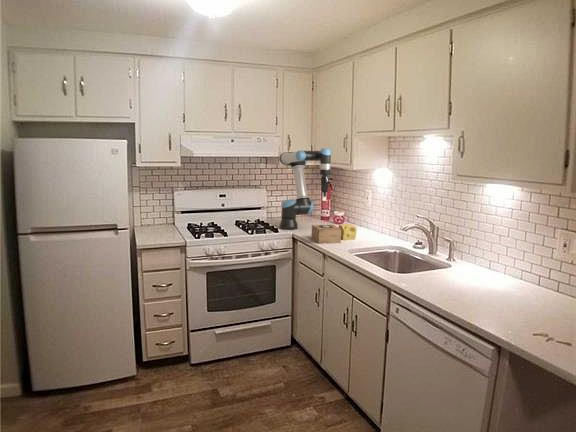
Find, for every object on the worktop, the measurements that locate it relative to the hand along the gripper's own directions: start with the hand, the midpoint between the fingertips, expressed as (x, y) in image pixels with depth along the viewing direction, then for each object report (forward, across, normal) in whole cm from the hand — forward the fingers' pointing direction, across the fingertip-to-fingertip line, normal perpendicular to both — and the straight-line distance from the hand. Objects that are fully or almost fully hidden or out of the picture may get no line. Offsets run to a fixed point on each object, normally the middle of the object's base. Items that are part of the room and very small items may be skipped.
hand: (324, 200), depth 319 cm
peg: (+26, +19, -4) cm, 32 cm away
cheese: (+27, +14, +14) cm, 33 cm away
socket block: (+26, +19, -4) cm, 33 cm away
